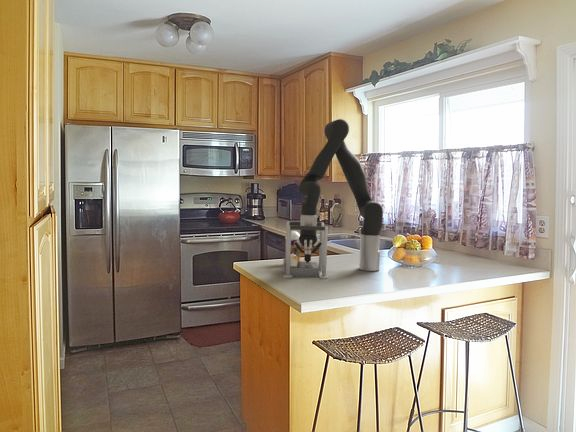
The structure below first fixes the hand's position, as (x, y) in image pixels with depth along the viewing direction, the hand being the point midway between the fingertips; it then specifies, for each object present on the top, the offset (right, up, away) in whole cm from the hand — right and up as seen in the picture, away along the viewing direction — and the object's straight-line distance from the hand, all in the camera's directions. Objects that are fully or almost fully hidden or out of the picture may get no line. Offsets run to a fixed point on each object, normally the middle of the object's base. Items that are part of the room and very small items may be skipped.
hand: (307, 262), depth 206 cm
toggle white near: (-6, -1, -5) cm, 8 cm away
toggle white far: (-7, 0, +5) cm, 8 cm away
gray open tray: (-3, -5, 0) cm, 6 cm away
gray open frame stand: (-1, -5, 0) cm, 5 cm away
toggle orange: (-6, -1, 0) cm, 6 cm away
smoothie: (-7, -4, +18) cm, 20 cm away
